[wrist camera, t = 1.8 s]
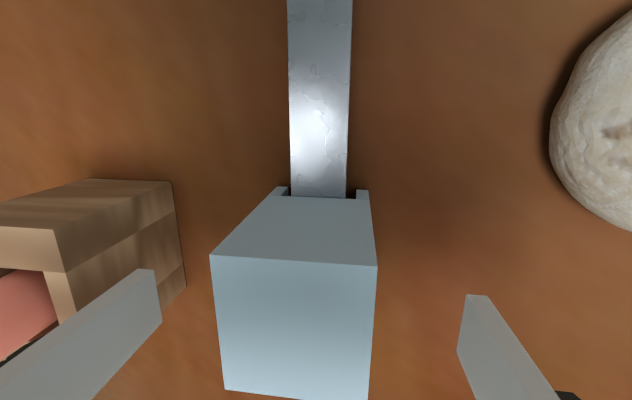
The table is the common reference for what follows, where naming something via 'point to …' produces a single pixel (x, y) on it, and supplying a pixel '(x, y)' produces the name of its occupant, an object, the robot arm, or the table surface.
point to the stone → (598, 127)
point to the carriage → (298, 298)
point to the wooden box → (93, 240)
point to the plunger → (23, 308)
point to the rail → (319, 95)
